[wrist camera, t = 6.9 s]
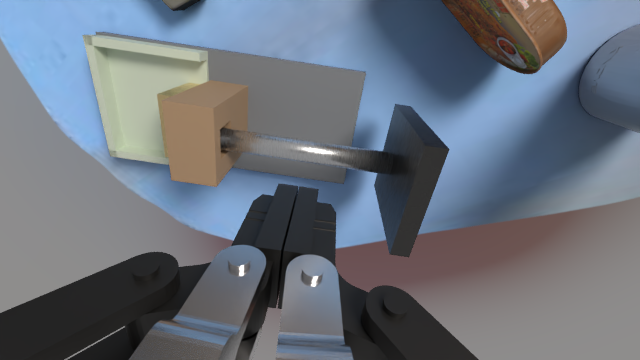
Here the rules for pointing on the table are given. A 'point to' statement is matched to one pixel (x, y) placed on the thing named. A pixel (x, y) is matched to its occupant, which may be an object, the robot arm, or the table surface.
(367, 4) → the table surface
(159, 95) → the spacer
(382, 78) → the table surface
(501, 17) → the tin
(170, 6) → the infrared thermometer
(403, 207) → the shaft
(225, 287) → the robot arm
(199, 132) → the shaft rig
